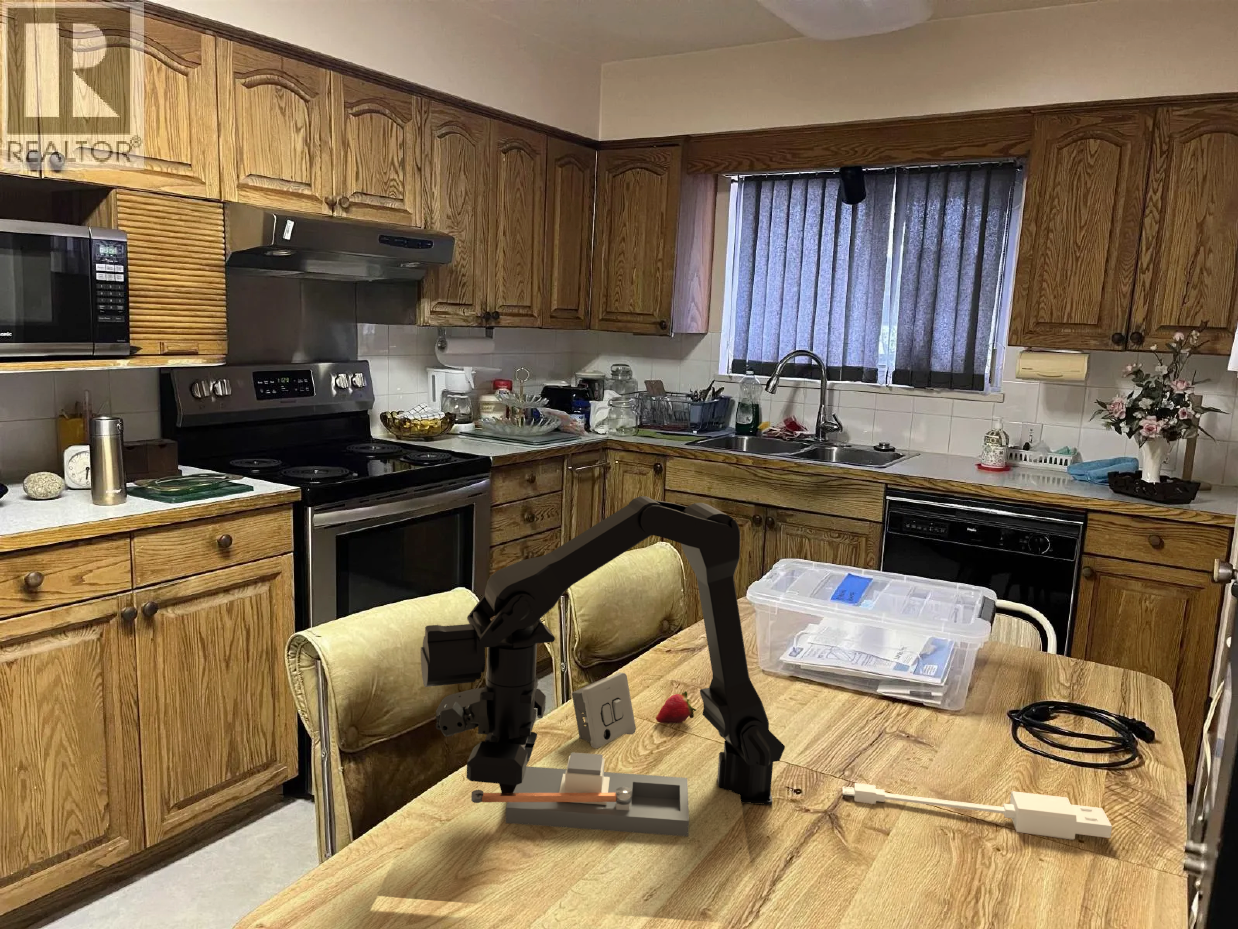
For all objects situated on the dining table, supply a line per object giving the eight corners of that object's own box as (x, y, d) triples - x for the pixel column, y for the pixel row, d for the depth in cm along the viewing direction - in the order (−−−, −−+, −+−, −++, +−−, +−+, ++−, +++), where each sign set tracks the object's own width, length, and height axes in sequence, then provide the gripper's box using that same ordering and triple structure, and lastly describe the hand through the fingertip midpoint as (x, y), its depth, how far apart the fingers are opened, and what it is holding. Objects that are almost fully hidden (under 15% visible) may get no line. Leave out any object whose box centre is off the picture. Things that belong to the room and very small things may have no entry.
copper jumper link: (630, 796, 112) (631, 787, 112) (632, 804, 110) (632, 795, 110) (471, 796, 110) (472, 787, 110) (470, 805, 108) (471, 795, 108)
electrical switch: (596, 756, 129) (595, 693, 128) (569, 747, 133) (567, 685, 132) (637, 734, 137) (635, 674, 136) (610, 726, 140) (608, 667, 139)
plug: (608, 794, 118) (611, 751, 116) (605, 820, 112) (608, 775, 111) (562, 791, 118) (564, 748, 117) (557, 817, 112) (558, 771, 111)
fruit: (651, 717, 142) (653, 687, 141) (688, 715, 144) (690, 685, 143) (658, 730, 138) (660, 699, 137) (696, 728, 139) (698, 697, 139)
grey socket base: (685, 799, 119) (687, 772, 119) (687, 843, 109) (689, 815, 109) (518, 787, 120) (519, 760, 120) (505, 830, 110) (506, 801, 110)
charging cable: (841, 793, 125) (842, 770, 124) (1099, 824, 118) (1101, 800, 117) (842, 812, 120) (843, 789, 120) (1110, 846, 113) (1113, 821, 113)
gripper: (462, 640, 117) (459, 751, 120) (421, 707, 99) (419, 836, 102) (548, 647, 116) (543, 759, 120) (523, 716, 98) (518, 845, 101)
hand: (506, 796), depth 111 cm, fingers closed
